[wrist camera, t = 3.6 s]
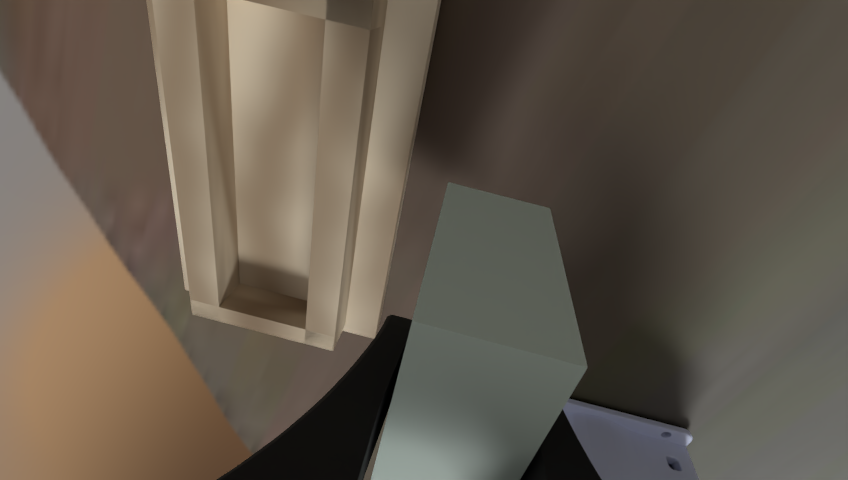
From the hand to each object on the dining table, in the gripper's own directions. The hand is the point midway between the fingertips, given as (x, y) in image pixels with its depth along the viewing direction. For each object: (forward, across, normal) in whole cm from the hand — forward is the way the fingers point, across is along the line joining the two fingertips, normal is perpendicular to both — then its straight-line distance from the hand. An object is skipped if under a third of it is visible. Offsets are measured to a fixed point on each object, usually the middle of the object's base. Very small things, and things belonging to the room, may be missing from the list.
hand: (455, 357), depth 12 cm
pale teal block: (+2, 0, 0) cm, 2 cm away
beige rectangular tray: (+9, +9, 0) cm, 13 cm away
